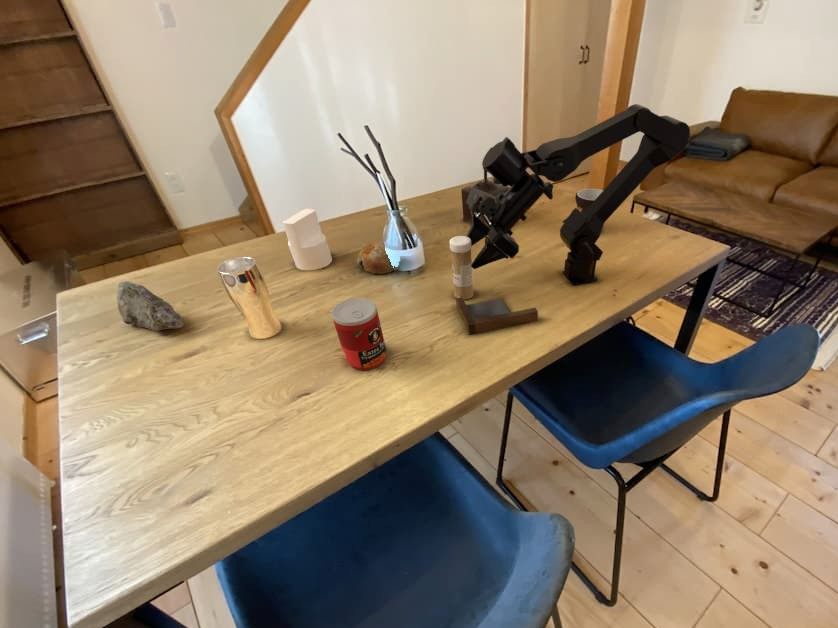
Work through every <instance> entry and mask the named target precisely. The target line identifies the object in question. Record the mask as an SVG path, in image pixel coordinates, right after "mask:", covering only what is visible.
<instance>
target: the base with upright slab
mask: <svg viewBox="0 0 838 628" xmlns="http://www.w3.org/2000/svg"><path fill="white" fill-rule="evenodd" d="M282 225H283V229H284V231H285V234H286V237H287V240H288V241H287V245H288V248H289V251H290V254H291V256H292V259H293V262H294V265H295V267H296V268H297V269H298V270H302V271H316V270H321V269H323V268H325V267H327V266H329V265H330V264H331V263H332V262H333V257H332V254H331V250H330V246H329V244H328V240H327V237H326V235H325V234H323V232H322V231H323V230H322V228H321V224H320V222H319V218H318V215H317V211H316V210H315V209H313V208H304V209H302V210H301V211H299V212H297V213H296V214H293V215H292V216H289V217H288V218H287V219H285V220H284V221H282Z"/></svg>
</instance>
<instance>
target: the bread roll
mask: <svg viewBox="0 0 838 628" xmlns="http://www.w3.org/2000/svg"><path fill="white" fill-rule="evenodd" d="M384 241H385V240H374V241H372V242H370V243H367V244H366V245H364V246H363V248H362V249H361V250H360V252H359V253H358V257H357V260H356V262H357V264H358V265H360V267H361V269H362V270H364V271H365V272H366V273H370V274H372V275H378V274H379V275H384V274H389V273H391V272H396V271H397V270H398V269H399V266H398V267H395V266H394V268H393V266H392V265H391V262H390V259H389V258H388V255H387V254H386V251H385V245H384Z"/></svg>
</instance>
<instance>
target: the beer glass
mask: <svg viewBox="0 0 838 628" xmlns="http://www.w3.org/2000/svg"><path fill="white" fill-rule="evenodd" d="M216 271H217V273H218V275H219V276H218V277H219V278H220V281H221V284H222V287H224V290H225V292H226V294H227V295H228V297H229V299H230V300H231V302H232V303H233V304H234V307H236V310H238V311H239V313H240V314H241V316H242V317H243V318H244V320H245V323H246V325H247V328H248V333H249V335H250V336H251V338H253V339H256V340H265V339H269V338H272V337H274V336H276V335H277V334H279V333H280V332H281V330H282V324H281V322H280V321H279V320H278V318H277V317H276V315H275V312H274V309H273V307H272V302H271V297H270V292H269V288H268V285H267V282H266V280H265V278H264V276H263V273H262V271H261V269H260V267H259V265H258V264H257V261H256V260H255V259H254V258H253V257H251V256H237V257H232V258H230V259H227V260H224V261H222V262H221V263H219V264H218V265H217V267H216Z"/></svg>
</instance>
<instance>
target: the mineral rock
mask: <svg viewBox="0 0 838 628" xmlns="http://www.w3.org/2000/svg"><path fill="white" fill-rule="evenodd" d="M116 301H117V309H118V310H117V311H118V312H119V315H120V316H121V320H122V322H123V323H124V324H126V325H135V326H137V327H140V328H146V329H149V330H150V331H151V332H152V331H153V332H158V331H162V330H167V329H180V328H182V327H183V326H184V319H183V317H182V316H181V315H180V313H178V312H176V311H175V309H174V307H173V306H172V305H171V304H170V303H169V302H167V301H165V300H164V299H163V298H161V297H159V296H157V295H156V294H155V293H153V292H152V291H150V289H148V288H147V287H145V286H144V285H142V284H138V283H137V284H136V283H133V282H130V281H126V280H125V281H124V280H123V281H120V282H118V285H117V290H116Z"/></svg>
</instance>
